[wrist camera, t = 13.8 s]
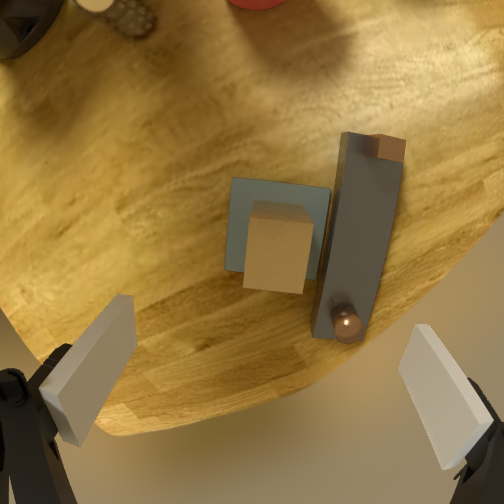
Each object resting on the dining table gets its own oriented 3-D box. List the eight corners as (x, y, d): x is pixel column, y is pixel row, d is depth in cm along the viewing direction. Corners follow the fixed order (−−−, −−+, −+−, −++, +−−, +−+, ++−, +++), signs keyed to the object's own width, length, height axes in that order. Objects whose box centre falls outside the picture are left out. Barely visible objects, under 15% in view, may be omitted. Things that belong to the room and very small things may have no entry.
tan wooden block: (295, 260, 34) (302, 294, 26) (248, 255, 34) (242, 287, 26) (303, 205, 32) (313, 224, 24) (254, 199, 32) (249, 216, 24)
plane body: (356, 327, 37) (370, 361, 30) (309, 323, 37) (316, 359, 30) (394, 143, 30) (423, 144, 23) (341, 132, 30) (360, 129, 23)
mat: (225, 268, 35) (224, 270, 34) (232, 177, 32) (232, 177, 31) (314, 277, 35) (315, 279, 34) (329, 188, 32) (330, 189, 31)
